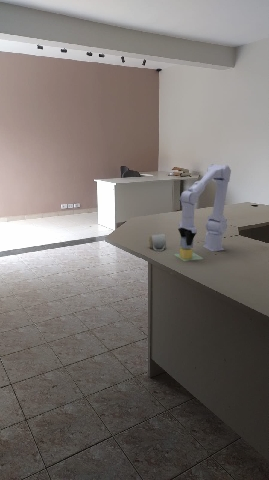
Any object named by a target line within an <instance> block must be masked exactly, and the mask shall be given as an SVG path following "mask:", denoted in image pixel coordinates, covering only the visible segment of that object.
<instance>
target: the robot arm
mask: <svg viewBox="0 0 269 480" xmlns="http://www.w3.org/2000/svg"><path fill="white" fill-rule="evenodd" d="M206 170H207V171H206V172H205V174H204V175H203V177H202V178H200V180H196V181H195V182H193V184H192V185H191V186H190V187H189V188H188V190H184V191H183V192H181V195H180V197H179V200H180V203H181V221H180V222H178V228H177V229H178V232H179V235H180V238H181V237H186V243H187V246H190V245H191V244H192V241H193V242H194V239H195V236H196V235H197V232H198V228H196V227H195V225H194V223H195V207H196V203H198V200H199V197H200V196H201V194H202V193H204V191H205V189H206V186H207V185H208V184H209V183H210V182H211V181H215V183H216V190H215V197H214V201H213V202H214V203H213V208H212V209H213V210H212V214H210V215H209V216H208V217H207V220H206V223H205V229H206V230H207V231H206V233H205V236H204V245H202V246H203V248H205V249H207V250H209V251H212V252H218V251H220V252H221V251H225V250H226V249H225V248H224V247H223V246H222V245H223V235H224V234H225V233H226V232H227V229H228V225H227V224H228V222H227V218H226V217H225V216H224V209H225V205H226V198H227V192H228V186H229V182H230V179H231V174H232V173H231V172H232V169H231V167H230V166H229V165H226V164H225V165H222V164H221V165H220V164H210V165H209V166H208V167H207V169H206Z"/></svg>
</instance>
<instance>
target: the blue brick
mask: <svg viewBox="0 0 269 480" xmlns="http://www.w3.org/2000/svg"><path fill="white" fill-rule="evenodd" d="M179 246H180V248H184V249H186V248H191V249H194V240H193V241H192V244H191V245H190V246H187V243H186V237H181V236H180V245H179Z"/></svg>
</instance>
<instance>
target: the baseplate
mask: <svg viewBox="0 0 269 480" xmlns="http://www.w3.org/2000/svg"><path fill="white" fill-rule="evenodd" d="M173 255H174V256H175V257H177V258H179V259H180V260H182V262H189V261H196V260H198V261H199V260H203V259H204V257H202V256H200V255H198V254H197V253H195V252H194V251H193V252H192V258H191V259H183V258H181V257H180V253H174V254H173Z"/></svg>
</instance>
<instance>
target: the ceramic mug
mask: <svg viewBox="0 0 269 480" xmlns="http://www.w3.org/2000/svg"><path fill="white" fill-rule="evenodd" d="M148 241H149V247H150V248H151V249H153V250H154V252H155V251H156V252H163V251H164V250H165V249H166V248H167V238H166V234H164V233H162V234H160V233H159V234H151V235H150V236H149V240H148Z"/></svg>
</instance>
